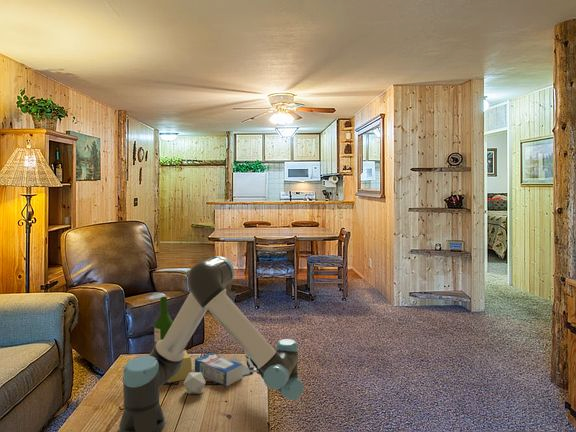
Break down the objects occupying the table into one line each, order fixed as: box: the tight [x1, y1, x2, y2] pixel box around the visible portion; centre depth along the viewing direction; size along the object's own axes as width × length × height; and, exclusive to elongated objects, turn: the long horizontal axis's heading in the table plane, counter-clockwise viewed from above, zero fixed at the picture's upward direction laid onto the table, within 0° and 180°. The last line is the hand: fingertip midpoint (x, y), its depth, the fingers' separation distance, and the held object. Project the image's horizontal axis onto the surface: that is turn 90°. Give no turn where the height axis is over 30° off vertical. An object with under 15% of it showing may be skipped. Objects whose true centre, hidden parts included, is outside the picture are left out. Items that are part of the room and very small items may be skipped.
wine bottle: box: [153, 296, 174, 346], centre depth 202 cm, size 9×9×32 cm
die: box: [183, 371, 206, 395], centre depth 177 cm, size 8×9×10 cm
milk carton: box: [194, 352, 243, 387], centre depth 192 cm, size 10×6×20 cm
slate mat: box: [212, 357, 251, 384], centre depth 198 cm, size 18×20×1 cm
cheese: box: [166, 349, 193, 384], centre depth 191 cm, size 10×11×10 cm
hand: (246, 353), depth 181 cm, fingers closed
